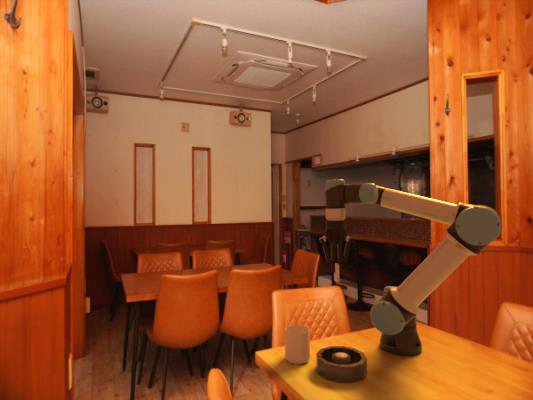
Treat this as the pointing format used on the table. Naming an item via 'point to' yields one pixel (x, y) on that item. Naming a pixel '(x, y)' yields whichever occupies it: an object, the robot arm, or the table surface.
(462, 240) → the robot arm
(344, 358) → the brown short cylinder
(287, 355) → the mug
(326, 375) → the brown ring
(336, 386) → the table surface
